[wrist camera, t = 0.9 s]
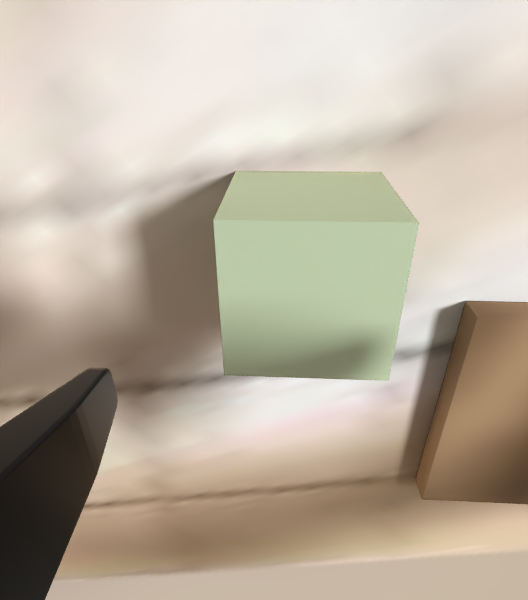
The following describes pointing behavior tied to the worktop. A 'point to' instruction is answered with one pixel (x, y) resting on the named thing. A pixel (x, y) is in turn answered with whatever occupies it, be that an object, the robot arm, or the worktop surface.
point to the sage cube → (312, 273)
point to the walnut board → (482, 411)
